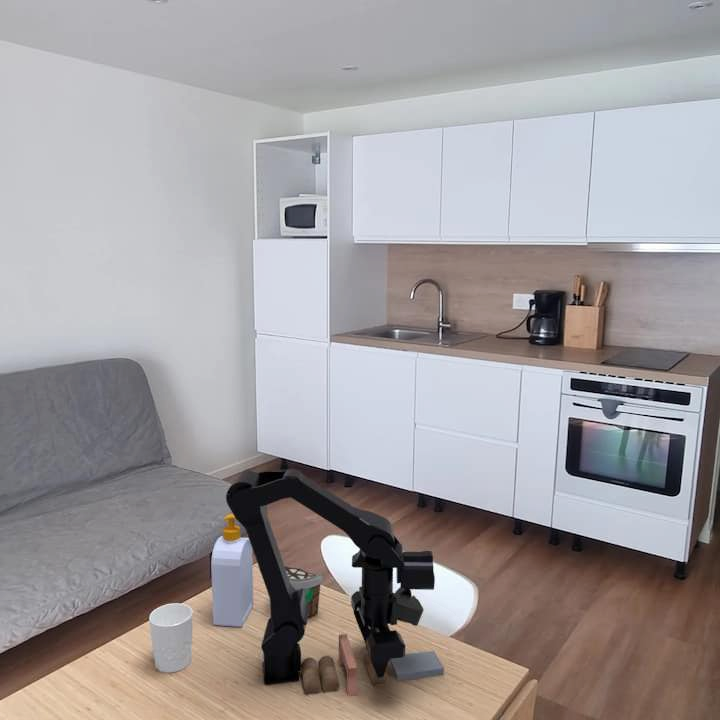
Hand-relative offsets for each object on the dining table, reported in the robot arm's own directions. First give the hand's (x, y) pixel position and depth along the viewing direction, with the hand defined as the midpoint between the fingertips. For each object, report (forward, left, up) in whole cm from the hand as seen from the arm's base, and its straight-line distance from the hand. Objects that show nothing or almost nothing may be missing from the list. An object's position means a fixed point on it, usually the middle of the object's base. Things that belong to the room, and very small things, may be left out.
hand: (375, 664), depth 122 cm
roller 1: (-13, 0, -2) cm, 13 cm away
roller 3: (0, 0, -2) cm, 2 cm away
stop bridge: (-5, 0, -2) cm, 6 cm away
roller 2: (-10, 0, 0) cm, 10 cm away
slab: (+8, 0, -2) cm, 8 cm away
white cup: (-37, +11, -2) cm, 39 cm away
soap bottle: (-25, +25, -2) cm, 36 cm away
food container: (-13, +23, -2) cm, 27 cm away
